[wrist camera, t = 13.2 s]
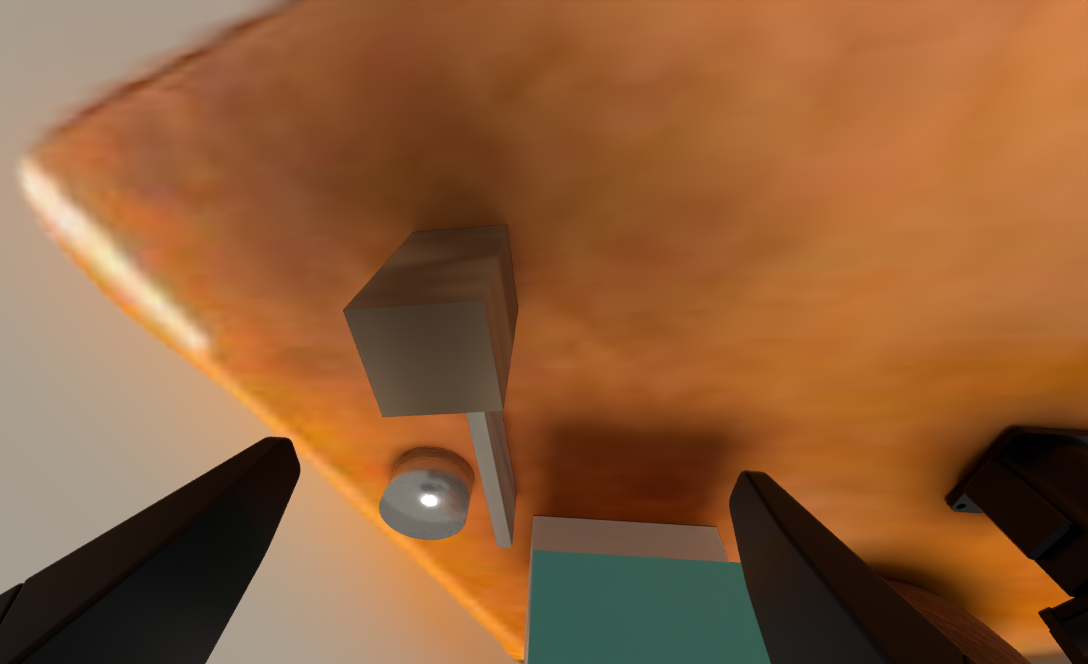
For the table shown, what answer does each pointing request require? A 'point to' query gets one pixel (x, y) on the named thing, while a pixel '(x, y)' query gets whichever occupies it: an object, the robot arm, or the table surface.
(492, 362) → the grey mallet
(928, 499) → the table surface
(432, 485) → the steel puck
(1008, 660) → the wooden bowl
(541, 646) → the l-shaped block
